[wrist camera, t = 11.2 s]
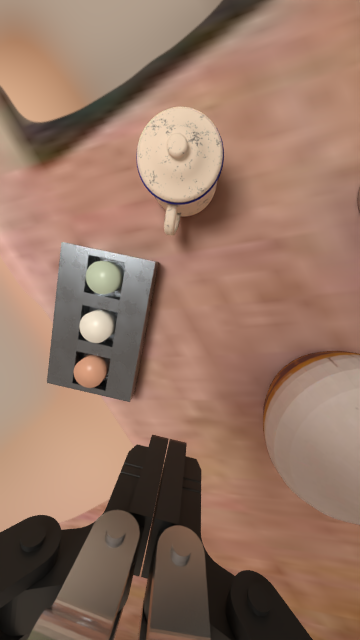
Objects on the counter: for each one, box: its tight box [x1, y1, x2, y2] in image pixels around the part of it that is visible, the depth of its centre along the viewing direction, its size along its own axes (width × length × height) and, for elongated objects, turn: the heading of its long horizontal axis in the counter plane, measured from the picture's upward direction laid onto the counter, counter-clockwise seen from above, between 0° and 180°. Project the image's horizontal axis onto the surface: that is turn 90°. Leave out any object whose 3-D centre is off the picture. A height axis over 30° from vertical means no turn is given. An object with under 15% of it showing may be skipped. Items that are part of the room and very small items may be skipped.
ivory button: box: [79, 309, 117, 343], centre depth 38 cm, size 4×4×4 cm
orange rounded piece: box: [74, 354, 110, 388], centre depth 39 cm, size 4×4×4 cm
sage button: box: [86, 261, 124, 294], centre depth 36 cm, size 4×4×4 cm
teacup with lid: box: [136, 107, 224, 236], centre depth 30 cm, size 12×9×12 cm
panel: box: [47, 242, 159, 402], centre depth 38 cm, size 21×13×3 cm, turn 168°
